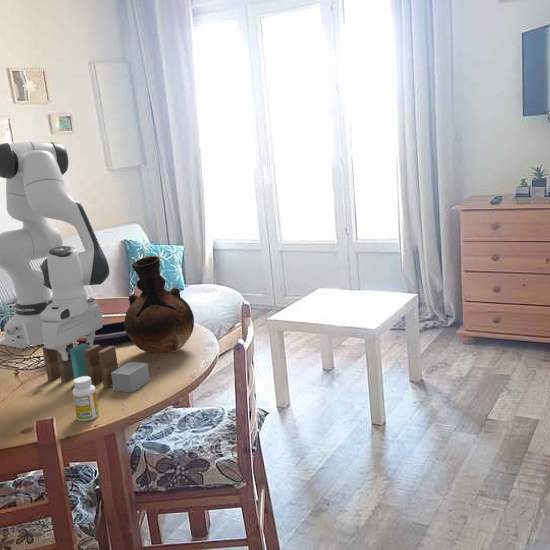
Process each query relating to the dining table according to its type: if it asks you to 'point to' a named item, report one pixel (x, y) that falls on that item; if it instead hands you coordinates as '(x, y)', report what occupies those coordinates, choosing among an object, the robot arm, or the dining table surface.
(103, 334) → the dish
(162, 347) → the ceramic vessel
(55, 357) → the domino
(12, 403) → the dining table surface
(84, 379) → the supplement bottle
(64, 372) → the domino
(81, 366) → the domino
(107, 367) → the domino
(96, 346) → the domino
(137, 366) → the end block
